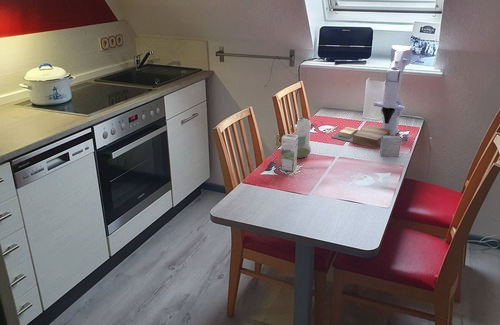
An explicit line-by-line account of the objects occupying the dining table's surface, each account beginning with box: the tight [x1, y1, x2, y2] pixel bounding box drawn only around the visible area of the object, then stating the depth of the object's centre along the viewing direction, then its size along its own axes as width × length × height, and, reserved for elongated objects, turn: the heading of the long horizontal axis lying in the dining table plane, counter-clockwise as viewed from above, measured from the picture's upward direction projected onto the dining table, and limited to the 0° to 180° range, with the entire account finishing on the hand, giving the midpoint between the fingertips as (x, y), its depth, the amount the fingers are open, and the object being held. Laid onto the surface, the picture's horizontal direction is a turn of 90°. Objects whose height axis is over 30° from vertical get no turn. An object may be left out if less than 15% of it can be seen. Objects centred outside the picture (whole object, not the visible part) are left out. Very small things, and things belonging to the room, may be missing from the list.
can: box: [295, 117, 312, 145], centre depth 217 cm, size 6×6×12 cm
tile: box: [338, 126, 359, 138], centre depth 230 cm, size 9×6×2 cm, turn 145°
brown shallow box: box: [351, 124, 391, 149], centre depth 223 cm, size 18×12×4 cm, turn 145°
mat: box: [331, 129, 361, 143], centre depth 230 cm, size 18×11×1 cm, turn 145°
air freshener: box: [292, 132, 312, 159], centre depth 203 cm, size 11×8×10 cm
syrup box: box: [280, 133, 298, 172], centre depth 189 cm, size 6×6×14 cm
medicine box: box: [379, 135, 402, 158], centre depth 205 cm, size 8×4×9 cm, turn 84°
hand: (386, 123), depth 219 cm, fingers closed
